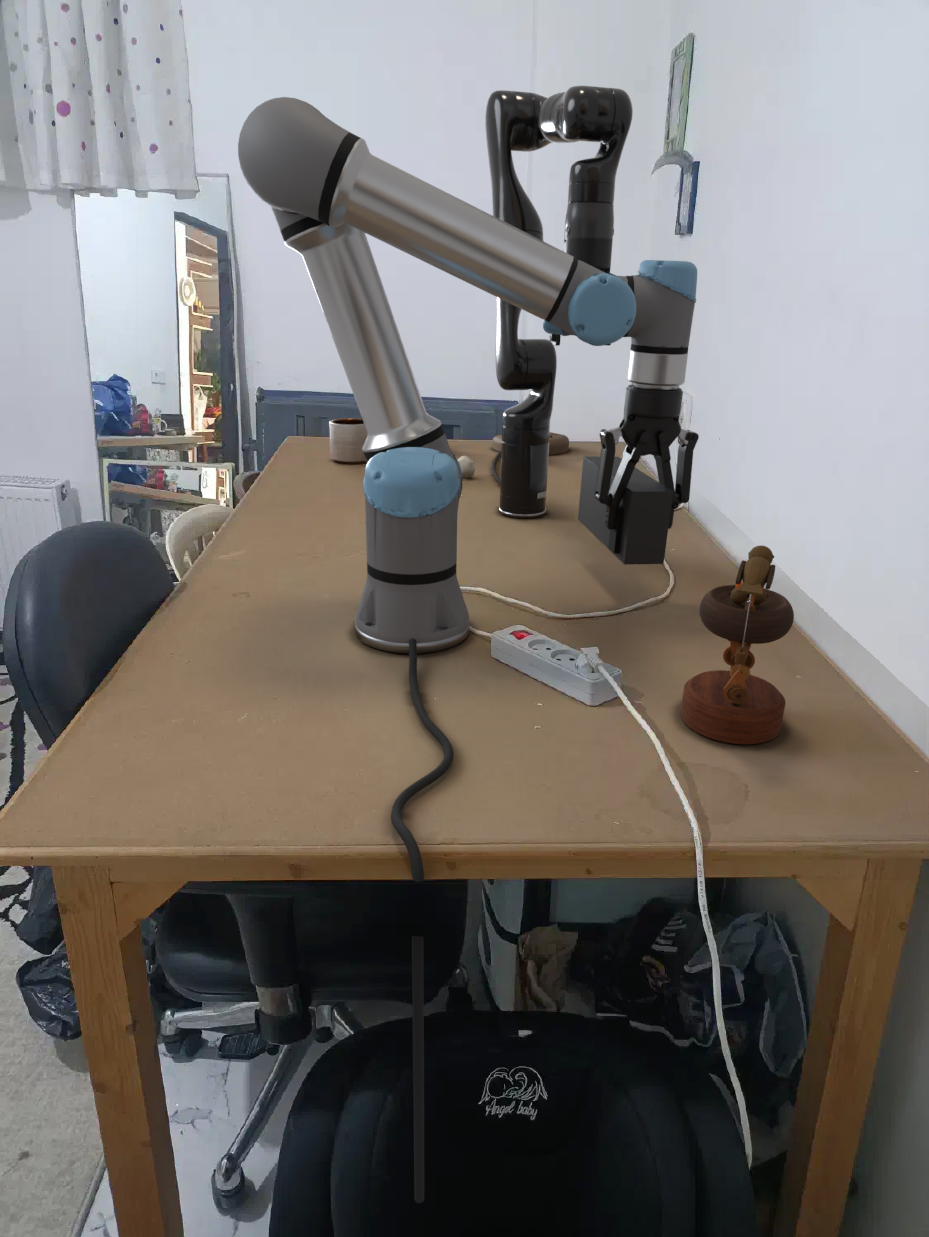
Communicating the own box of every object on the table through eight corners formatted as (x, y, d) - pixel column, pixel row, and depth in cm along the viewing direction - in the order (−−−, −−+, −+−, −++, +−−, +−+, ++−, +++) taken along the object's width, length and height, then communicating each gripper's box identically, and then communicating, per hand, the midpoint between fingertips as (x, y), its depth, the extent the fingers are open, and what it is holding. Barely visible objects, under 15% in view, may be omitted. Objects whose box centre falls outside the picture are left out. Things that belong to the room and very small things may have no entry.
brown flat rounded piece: (498, 464, 212) (499, 447, 210) (490, 443, 238) (490, 428, 236) (581, 464, 213) (583, 447, 211) (564, 443, 239) (565, 428, 237)
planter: (327, 456, 217) (325, 418, 214) (369, 454, 220) (368, 417, 217) (334, 465, 208) (332, 425, 204) (377, 463, 211) (376, 424, 207)
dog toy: (471, 473, 201) (471, 452, 199) (475, 479, 196) (476, 458, 194) (386, 475, 198) (386, 454, 196) (388, 481, 193) (388, 459, 191)
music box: (801, 756, 85) (818, 567, 77) (689, 756, 86) (695, 570, 79) (768, 687, 99) (780, 521, 91) (672, 688, 100) (676, 525, 93)
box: (663, 564, 119) (673, 491, 115) (624, 564, 118) (632, 491, 114) (611, 519, 140) (618, 456, 136) (577, 519, 139) (583, 456, 135)
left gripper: (709, 383, 118) (686, 541, 127) (579, 380, 115) (565, 543, 124) (733, 390, 111) (707, 557, 120) (595, 387, 108) (579, 559, 117)
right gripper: (624, 238, 136) (615, 343, 142) (538, 236, 134) (533, 343, 140) (640, 236, 129) (630, 347, 135) (550, 234, 127) (544, 347, 133)
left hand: (635, 549), depth 122 cm, fingers closed on box, 6 cm apart
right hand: (581, 345), depth 138 cm, fingers open, 8 cm apart
